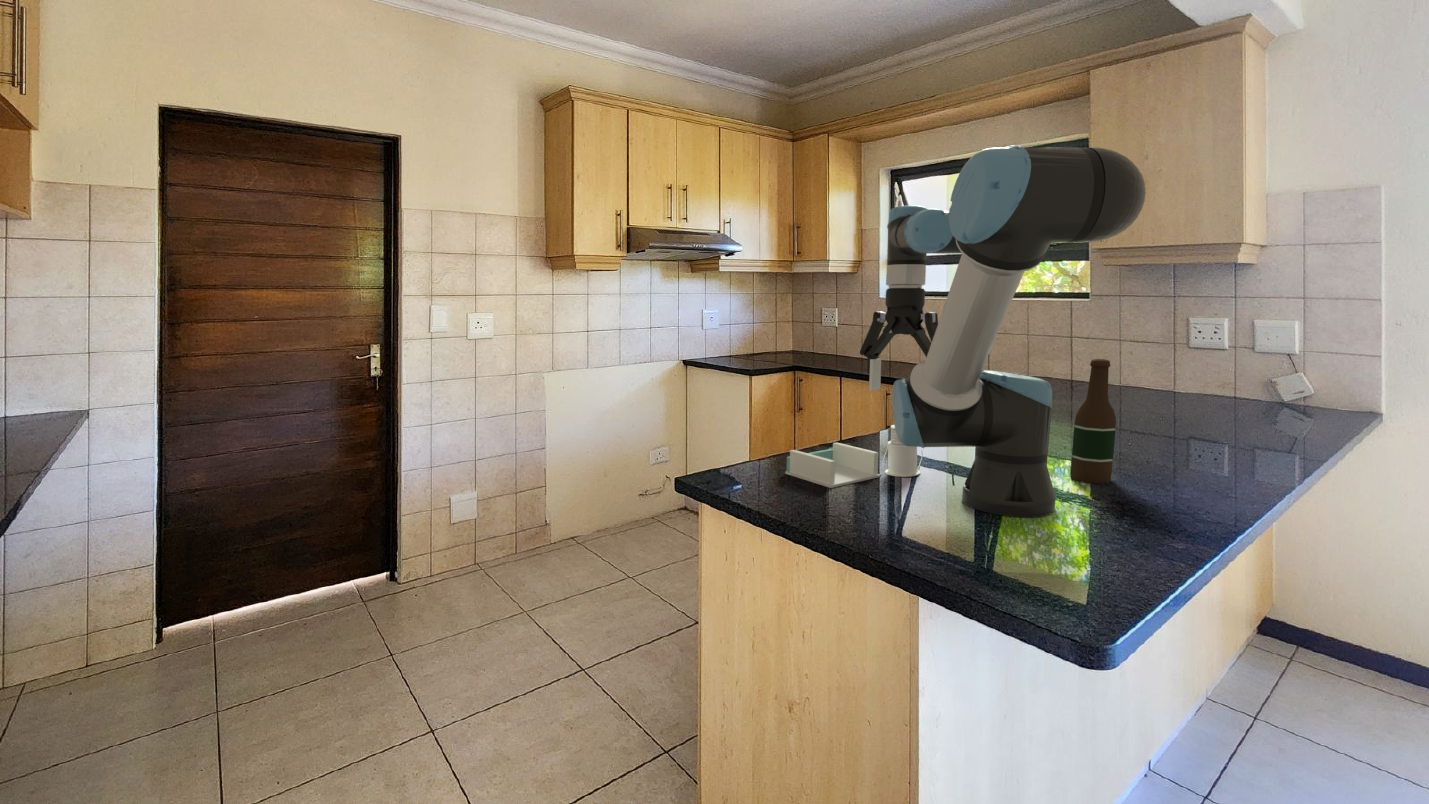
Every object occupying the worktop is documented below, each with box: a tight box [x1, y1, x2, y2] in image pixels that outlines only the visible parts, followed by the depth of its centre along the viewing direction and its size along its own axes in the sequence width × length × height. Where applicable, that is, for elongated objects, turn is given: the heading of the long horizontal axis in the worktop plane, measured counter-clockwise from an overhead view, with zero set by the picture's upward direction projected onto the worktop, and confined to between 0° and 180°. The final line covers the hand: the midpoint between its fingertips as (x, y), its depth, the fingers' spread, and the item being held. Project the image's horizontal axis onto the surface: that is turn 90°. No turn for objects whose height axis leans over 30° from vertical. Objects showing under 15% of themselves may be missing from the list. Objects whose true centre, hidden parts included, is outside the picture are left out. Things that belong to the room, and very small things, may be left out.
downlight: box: [882, 424, 924, 478], centre depth 145 cm, size 8×7×10 cm
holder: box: [784, 442, 881, 489], centre depth 143 cm, size 13×14×5 cm
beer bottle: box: [1069, 358, 1117, 485], centre depth 139 cm, size 8×8×24 cm
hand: (901, 393), depth 143 cm, fingers open, 13 cm apart
